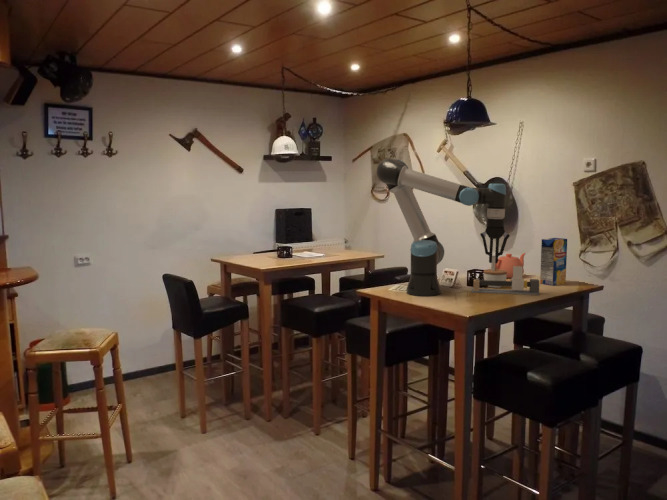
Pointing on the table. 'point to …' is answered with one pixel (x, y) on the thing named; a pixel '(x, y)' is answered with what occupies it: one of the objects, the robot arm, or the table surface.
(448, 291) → the table surface
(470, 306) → the table surface
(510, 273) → the teapot
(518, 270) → the grey upright block
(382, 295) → the table surface
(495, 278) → the lidded jar
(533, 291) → the cord rig
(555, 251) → the beverage box
